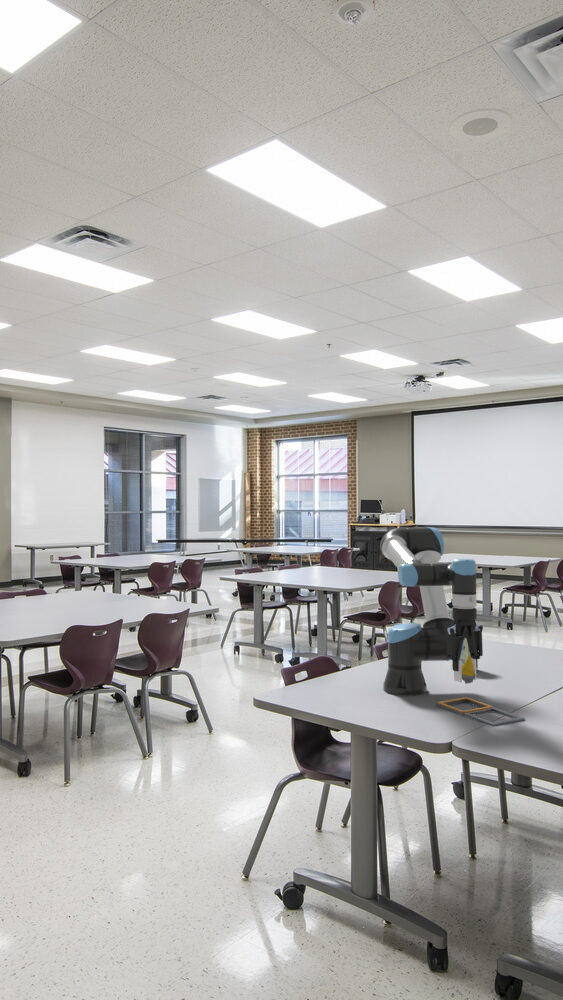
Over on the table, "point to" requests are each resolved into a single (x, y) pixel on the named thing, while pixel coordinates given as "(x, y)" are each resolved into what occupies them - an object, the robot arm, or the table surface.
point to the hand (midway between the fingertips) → (465, 679)
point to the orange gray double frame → (478, 711)
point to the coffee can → (465, 653)
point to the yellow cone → (468, 671)
